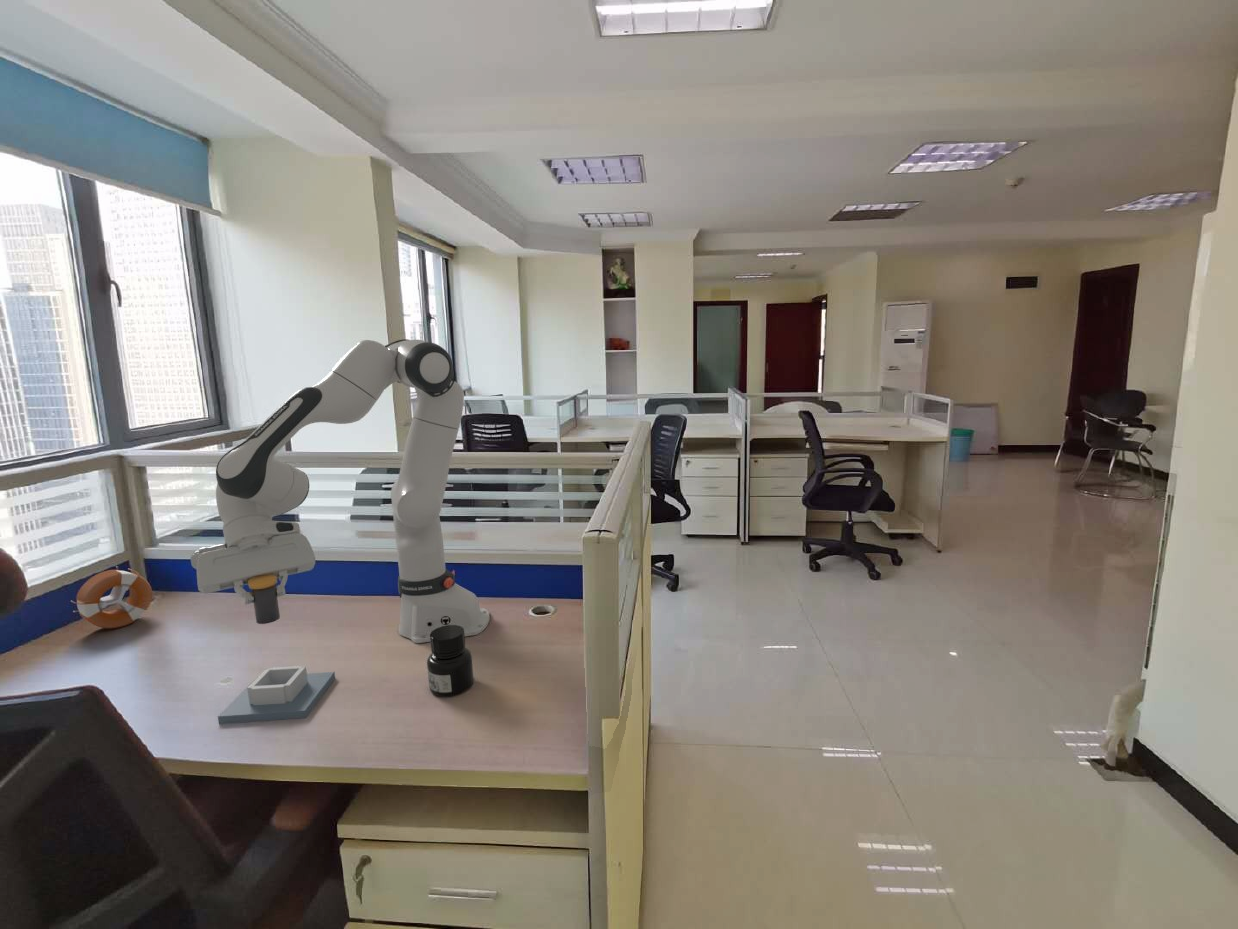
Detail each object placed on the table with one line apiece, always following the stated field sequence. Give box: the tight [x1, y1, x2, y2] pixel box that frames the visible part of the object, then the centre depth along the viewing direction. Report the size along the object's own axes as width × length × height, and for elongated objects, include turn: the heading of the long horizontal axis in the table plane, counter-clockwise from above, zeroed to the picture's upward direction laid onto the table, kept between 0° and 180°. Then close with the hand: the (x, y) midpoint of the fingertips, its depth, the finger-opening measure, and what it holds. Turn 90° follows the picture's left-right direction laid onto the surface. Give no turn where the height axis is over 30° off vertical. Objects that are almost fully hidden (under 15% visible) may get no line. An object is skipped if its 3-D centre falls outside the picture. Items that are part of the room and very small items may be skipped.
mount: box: [217, 665, 336, 725], centre depth 118 cm, size 16×14×5 cm
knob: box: [247, 574, 281, 625], centre depth 114 cm, size 5×5×8 cm
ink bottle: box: [426, 625, 474, 698], centre depth 121 cm, size 10×9×12 cm
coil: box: [70, 566, 153, 630], centre depth 154 cm, size 7×15×15 cm, turn 148°
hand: (265, 598), depth 114 cm, fingers closed on knob, 4 cm apart
